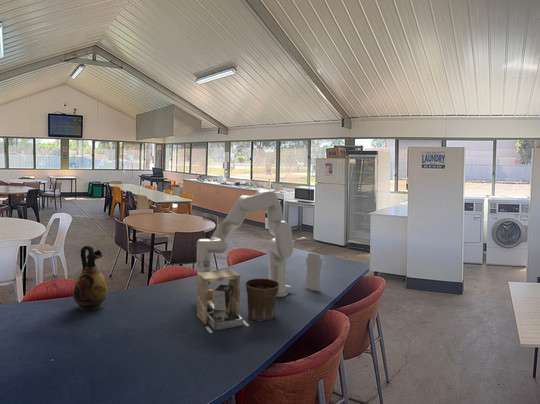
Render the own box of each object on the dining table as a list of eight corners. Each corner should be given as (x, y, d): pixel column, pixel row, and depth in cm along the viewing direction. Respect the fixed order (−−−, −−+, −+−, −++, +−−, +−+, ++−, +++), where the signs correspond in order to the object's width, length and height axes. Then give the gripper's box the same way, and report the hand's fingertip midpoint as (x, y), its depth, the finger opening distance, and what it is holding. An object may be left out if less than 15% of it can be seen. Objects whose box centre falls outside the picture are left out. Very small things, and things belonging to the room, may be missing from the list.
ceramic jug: (114, 304, 189) (114, 245, 186) (88, 315, 175) (87, 251, 172) (90, 298, 196) (89, 241, 193) (63, 308, 182) (62, 247, 180)
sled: (217, 300, 198) (217, 288, 197) (242, 325, 169) (243, 311, 168) (192, 304, 192) (192, 291, 191) (214, 330, 163) (215, 315, 162)
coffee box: (226, 327, 167) (227, 291, 165) (213, 325, 168) (213, 290, 167) (233, 319, 176) (233, 285, 174) (219, 317, 177) (220, 283, 176)
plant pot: (282, 312, 185) (284, 280, 184) (272, 325, 170) (273, 290, 168) (251, 307, 190) (252, 276, 189) (238, 319, 175) (239, 286, 174)
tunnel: (230, 309, 187) (231, 269, 185) (239, 317, 177) (240, 275, 176) (196, 315, 179) (197, 272, 177) (204, 324, 170) (204, 279, 168)
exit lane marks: (243, 320, 174) (243, 320, 174) (249, 325, 169) (249, 325, 169) (205, 327, 166) (205, 327, 166) (210, 333, 160) (210, 332, 160)
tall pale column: (303, 288, 224) (304, 251, 221) (306, 286, 227) (308, 250, 225) (318, 292, 217) (320, 254, 215) (322, 290, 220) (323, 253, 218)
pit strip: (224, 305, 193) (224, 304, 193) (226, 307, 190) (226, 306, 190) (193, 310, 185) (193, 309, 185) (195, 312, 183) (195, 311, 183)
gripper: (215, 265, 191) (215, 301, 192) (206, 259, 204) (206, 292, 206) (201, 267, 187) (200, 303, 189) (192, 260, 200) (192, 293, 202)
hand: (203, 297), depth 197 cm, fingers closed
